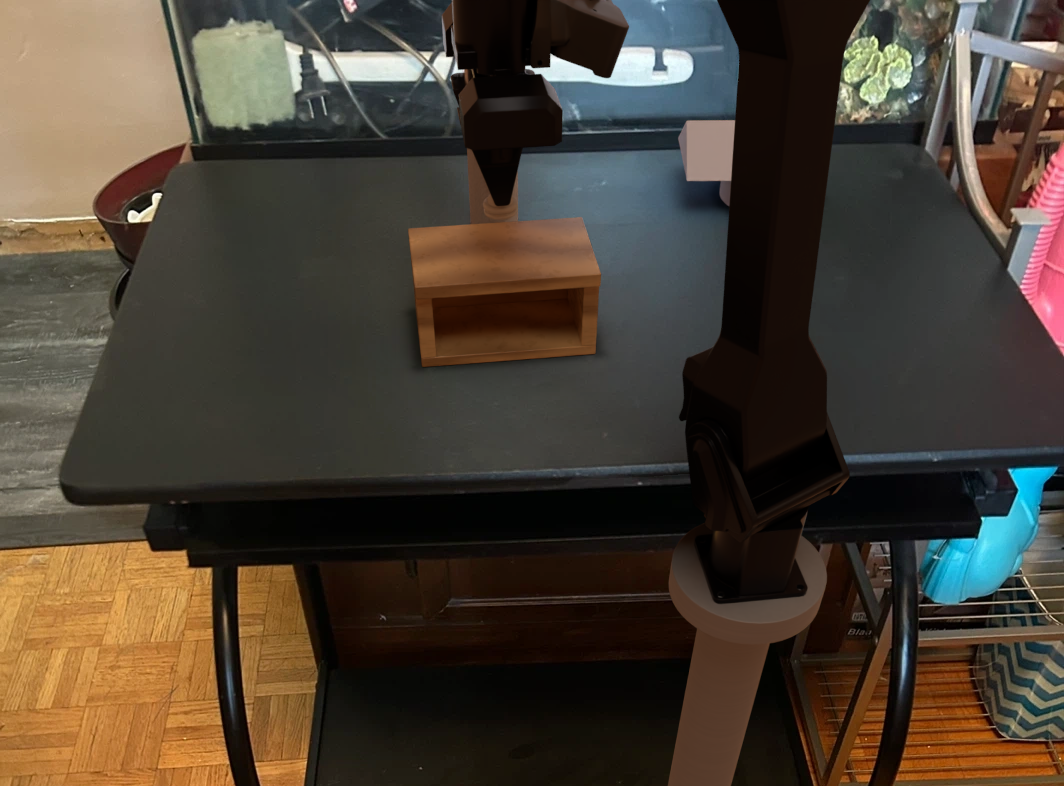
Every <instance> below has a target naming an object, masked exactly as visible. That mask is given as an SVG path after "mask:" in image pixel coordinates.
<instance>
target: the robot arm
mask: <svg viewBox="0 0 1064 786" xmlns="http://www.w3.org/2000/svg"><path fill="white" fill-rule="evenodd" d="M716 1H717V4H718V7H719V8H720V10H721V13H722V15H723V18H724V19H725V21H726V25H727V26H728V28H729V30H730V33H731V35H732V37H733V39H734V41H735V44H736V46H737V49H738V50H737V51H738V67H737V82H736V83H737V85H736V99H735V115H734V120H735V128H734V143H733V159H732V174H731V189H730V204H729V206H728V221H727V236H726V252H725V265H724V266H725V268H724V281H723V297H722V299H723V300H722V312H721V313H722V314H721V328H720V332H719V335H718V337H717V340H715V343H714V344H713V346H712V347H711V346H710V347H709V348H706V349H704V350H702V351H700V352H697V353H695V354H692V355H690V356H688V357H687V358H686V359H685V361H684V365H683V369H682V374H681V376H682V388H683V400H682V407H681V410H680V412H679V415H678V420H679V421H680V422H684V421H685V427H684V438H685V448H686V457H687V465H688V473H689V482H690V489H691V499H692V504H693V505H694V507H696V508H697V509H698V510H699V511H701V512H702V513H703V517H704V518H705V521H704V523H705V526H707V527H708V528H709V529H710V530H714V531H713V534H706V535H698V536H696V537H695V540H694V546H695V549H696V552H697V555H698V558H699V561H700V564H701V567H702V570H703V573H704V576H705V578H706V581H707V584H708V587H709V590H710V593H711V596H712V599H713V601H714V602H715V603H717V604H729V603H740V602H750V601H761V600H771V599H781V598H792V597H802V596H804V595H806V593H807V589H808V587H807V584H806V582H805V580H804V577H803V575H802V573H801V570H800V568H799V565H798V563H797V561H796V558H795V556H796V552H797V549H798V545H799V541H800V538H801V536H802V535H803V531H804V526H805V523H806V519H807V516H808V512H809V507H810V506H811V505H813V504H814V503H816V502H818V501H820V500H822V499H824V498H826V497H828V496H833V495H835V494H837V493H838V491H839V490H840V489H841V488H842V487H843V486H844V485H845V483H846V482H847V481H848V479H849V478H850V477H851V476H850V475H851V473H850V469H849V467H848V464H847V462H846V459H845V456H844V453H843V450H842V448H841V445H840V442H839V440H838V438H837V435H836V432H835V430H834V427H833V424H832V422H831V419H830V416H829V413H828V408H827V407H828V371H827V369H826V367H825V364H824V362H823V360H822V358H821V356H820V355H819V352H818V351H817V348H816V347H815V344H814V343H813V341H812V338H811V337H810V332H809V331H810V321H811V320H810V319H811V312H812V304H813V297H814V289H815V288H814V287H815V281H816V274H817V273H816V272H817V267H818V257H819V250H820V242H821V235H822V234H821V233H822V227H823V218H824V212H825V211H824V210H825V204H826V203H825V202H826V197H827V187H828V181H829V180H828V179H829V172H830V164H831V157H832V149H833V142H834V133H835V126H836V118H837V111H838V102H839V96H840V95H839V94H840V87H841V80H842V79H841V78H842V71H843V65H844V64H843V63H844V55H845V52H846V48H847V44H848V42H849V40H850V38H851V36H852V34H853V32H854V30H855V29H856V27H857V25H858V23H859V21H860V20H861V18H862V17H863V14H864V12H865V10H866V8H867V7H868V5H869V3H870V1H871V0H716ZM441 27H442V44H443V48H444V55H445V58H455V63H456V68H457V70H458V71H462V72H456V73H452V74H451V75H450V82H451V87H452V93H453V94H454V97H455V100H456V103H457V105H458V106H457V107H456V111H457V116H458V121H459V125H460V129H461V135H462V138H463V144H464V148H465V149H467V148H468V149H471V150H472V152H473V154H474V156H475V159H476V161H477V164H478V166H479V168H480V170H481V173H482V175H483V177H484V180H485V182H486V185H487V187H488V189H489V192H490V194H491V197H492V199H493V201H494V204H495V205H496V206H507V205H509V204H510V202H511V198H512V193H513V189H514V184H515V180H516V175H517V171H518V172H519V167H520V162H521V158H522V154H523V150H524V149H527V148H528V149H529V148H541V147H542V148H544V147H555V146H557V145H559V144H561V143H562V142H563V118H564V115H563V112H564V111H563V107H562V104H561V101H560V98H559V96H558V93H557V91H556V88H555V87H554V86H553V85H552V83H550V82H549V80H547V78H545V76H543V75H544V74H542V73H536V72H535V71H534V70H533V69H548V68H549V69H550V68H551V56H554V57H555V58H557V59H560V60H562V61H565V62H568V63H571V64H574V65H576V66H579V67H582V68H584V69H587V70H590V71H592V74H593V75H594V76H596V77H599V78H602V79H611V78H612V76H613V73H614V69H615V67H616V64H617V62H618V58H619V56H620V53H621V50H622V48H623V45H624V43H625V39H626V38H627V34H628V33H629V29H630V24H629V23H628V20H627V18H626V17H625V15H624V13H623V11H622V9H620V7H619V6H617V5H616V4H614V2H613V0H451V3H450V4H449V5H448V6H447V8H446V9H445V10H444V12H443V13H442V14H441ZM526 67H531V68H532V69H529V68H526ZM799 589H801V590H799ZM718 596H721V597H718Z"/></svg>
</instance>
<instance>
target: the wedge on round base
mask: <svg viewBox="0 0 1064 786" xmlns="http://www.w3.org/2000/svg"><path fill="white" fill-rule="evenodd" d="M734 128H735V119H734V120H733V119H727V120H726V119H724V120H723V119H720V120H719V119H717V120H716V119H714V120H713V119H712V120H710V119H709V120H708V119H707V120H706V119H705V120H703V119H702V120H701V119H699V120H697V119H696V120H686V121H685V123H684V125H683V127H682V129H681V132H680V133H679V135H678V137H677V140H678V145H679V149H680V154H681V158H682V159H681V160H682V164H683V168H684V173H685V179H686V182H720V185H719V197H720V199H721V201H722V202H723V203H724V204H725V205H726V206H728V207H729V204H730V189H731V174H732V159H733V143H734Z"/></svg>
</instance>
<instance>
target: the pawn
mask: <svg viewBox="0 0 1064 786" xmlns="http://www.w3.org/2000/svg"><path fill="white" fill-rule="evenodd" d="M517 206H518V207H519V201H518V202H517V200H516V199H515V198H514V197H512V198H511V202H510V204H509V205H507V206H496V205H495V204H494V201H493V199H492V197H491V194H490V195H489V196H488V197H487V198H486V199H485V200H484V202H483V207H484V214H485V215H486V216H487V217H489V218H491V219H495V220H505V219H509V218H512V217H513V216H515V215H516V214H517Z"/></svg>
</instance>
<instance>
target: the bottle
mask: <svg viewBox="0 0 1064 786" xmlns="http://www.w3.org/2000/svg"><path fill="white" fill-rule="evenodd" d="M466 154H467V155H466V157H467V158H466V159H467V176H468V180H467V181H468V199H469V218H470V219H469V221H470V224H484V223H500V222H515V221H519V205H518V206H517V214H516V215H515V216H513V217H512V218H509V219H505V220H495V219H491V218H489V217H487V216H486V215H485V214H484V207H483V202H484V200H485V199H486V198H487V197H488V196H489V195H490V192H489V189H488V187H487V185H486V182H485V180H484V177H483V175H482V173H481V170H480V168H479V166H478V164H477V161H476V159H475V156H474V154H473V152H472V150H471V149H468V148H466ZM518 174H519V170H518V171H517V175H516V180H515V184H514V189H513V193H512V197H514V198H515V199H516V200H517V202H518V203H519V175H518Z"/></svg>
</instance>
